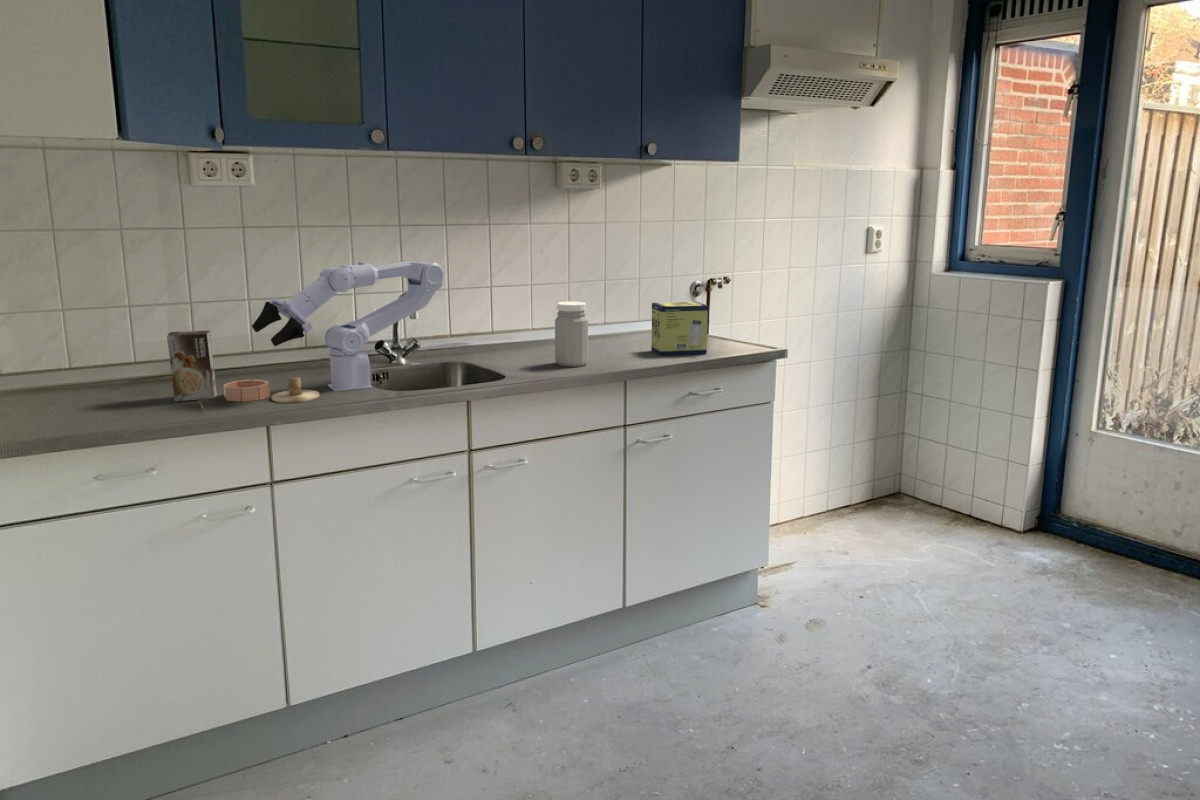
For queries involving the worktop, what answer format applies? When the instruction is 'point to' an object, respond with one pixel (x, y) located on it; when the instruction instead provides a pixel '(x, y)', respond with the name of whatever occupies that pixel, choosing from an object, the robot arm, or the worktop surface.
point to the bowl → (246, 390)
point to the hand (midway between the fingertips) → (263, 336)
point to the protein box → (679, 328)
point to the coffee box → (191, 365)
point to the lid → (295, 393)
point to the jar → (571, 334)
